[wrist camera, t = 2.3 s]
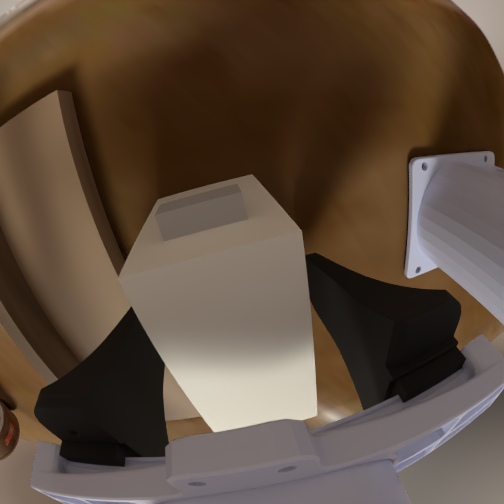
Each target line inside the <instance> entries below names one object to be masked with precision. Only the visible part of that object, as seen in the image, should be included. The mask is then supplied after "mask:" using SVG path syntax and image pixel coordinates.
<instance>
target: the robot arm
mask: <svg viewBox="0 0 504 504" xmlns="http://www.w3.org/2000/svg"><path fill="white" fill-rule="evenodd" d="M494 162H495V157H494V153H493V152H491V151H479V152H465V153H453V154H442V155H433V156H424V157H415V158H412V159H411V161H410V163H409V222H408V239H407V252H406V262H405V271H404V272H405V275H406V276H407V277H408V278H413V277H415V276H418V275H420V274H423V273H425V272H427V271H430V270H432V269H435V268H437V267H439V268H440V269H442V270H443V271H444V272H445V273H446V274H448V275H449V276H450V277H451V278H453V279H454V280H455V281H456V282H457V283H458V284H460V285H461V286H462V287H463V288H464V289H465V290H467V291H468V292H469V293H470V294H471V295H472V296H473V297H474V298H476V299H477V300H478V301H479V302H480V303H481V304H482V305H483V306H484V307H485V308H486V309H488V310H489V311H490V312H491V313H492V314H493V315H494V316H495V317H496V318H497V319H498V320H499V321H500V322H501V323H502V324H503V325H504V169H502V168H500V167H497V166H494ZM422 164H423V168H422ZM305 260H306V269H307V278H308V288H309V298H310V300H311V302H312V305H313V307H314V309H315V311H316V312H317V314H318V316H319V317H320V319H321V320H322V322H323V324H324V325H325V327H326V328H327V330H328V332H329V333H330V335H331V336H332V338H333V340H334V341H335V343H336V345H337V347H338V348H339V350H340V353H341V355H342V357H343V359H344V361H345V364H346V366H347V368H348V371H349V373H350V375H351V378H352V380H353V383H354V385H355V388H356V390H357V393H358V396H359V398H360V401H361V404H362V407H363V410H364V411H361V412H359V413H356V414H354V415H351V416H349V417H346V418H344V419H341V420H338V421H336V422H333V423H330V424H327V425H324V426H321V427H318V428H315V429H312V430H310V427H309V426H308V425H307V424H306V423H305V422H304V421H301V420H294V419H281V420H275V421H268V422H264V423H260V424H256V425H251V426H247V427H242V428H237V429H232V430H226V431H220V432H214V433H208V434H201V435H193V436H187V437H183V438H178V439H174V440H173V441H172V442H170V443H169V442H168V436H167V429H166V421H165V412H164V398H163V383H164V371H165V363H164V361H163V360H162V358H161V356H160V355H159V353H158V352H157V350H156V348H155V347H154V345H153V343H152V342H151V340H150V338H149V337H148V335H147V333H146V331H145V330H144V328H143V326H142V324H141V323H140V321H139V319H138V317H137V315H136V313H135V312H134V310H133V308H132V306H131V307H130V309H129V310H128V311H127V313H126V314H125V315H124V316H123V318H122V319H121V320H120V321H119V323H118V324H117V325H116V327H115V328H114V329H113V330H112V331H111V333H110V334H109V335H108V336H107V337H106V339H105V340H104V341H103V342H102V343H101V344H100V345H99V346H98V347H97V348H96V349H95V350H94V351H93V352H92V353H91V354H90V355H89V356H88V357H87V358H86V359H84V360H83V361H82V362H81V363H80V364H79V365H78V366H76V367H75V368H74V369H72V370H71V371H70V372H68V373H67V374H66V375H64V376H63V377H61V378H60V379H58V380H57V381H55V382H53V383H51V384H50V385H48V386H46V387H44V388H43V389H41V391H40V394H39V397H38V400H37V403H36V406H35V409H34V414H35V416H36V418H37V419H38V420H39V422H40V423H41V424H42V425H43V426H45V427H46V428H47V429H48V430H49V431H51V432H52V433H53V434H54V435H56V436H57V437H58V438H60V439H61V440H62V444H61V446H60V445H57V444H54V443H48V442H42V441H39V442H38V445H37V449H36V454H35V458H34V464H33V469H32V474H31V480H30V486H31V487H32V488H34V489H36V490H38V491H40V492H41V493H43V494H45V495H47V496H49V497H51V498H54V499H56V500H58V501H60V502H62V503H64V504H411V502H410V500H409V498H408V496H407V493H406V492H405V489H404V487H403V485H402V483H401V481H400V479H399V476H398V474H397V472H399V471H400V470H402V469H404V468H406V467H407V466H409V465H411V464H412V463H414V462H416V461H417V460H419V459H421V458H422V457H424V456H425V455H427V454H428V453H430V452H431V451H433V450H434V449H436V448H437V447H439V446H440V445H441V444H443V443H444V442H445V441H447V440H448V439H450V438H451V437H452V436H454V435H455V434H456V433H457V432H459V431H460V430H461V429H463V428H464V427H465V426H466V425H468V424H469V423H470V422H472V421H473V420H474V419H475V418H476V417H477V416H479V415H480V414H481V413H482V412H484V411H485V410H486V409H487V408H488V407H489V406H490V405H491V404H492V402H494V400H495V399H496V398H497V397H498V395H499V394H500V393H501V391H502V390H503V389H504V357H503V356H502V355H501V354H500V353H499V351H497V349H496V348H495V347H494V346H493V345H492V344H491V343H490V342H489V340H488V339H487V338H486V337H485V336H484V335H483V334H481V335H479V336H478V337H477V338H475V339H474V340H472V341H471V342H470V343H468V344H467V345H466V346H464V347H463V349H462V350H461V351H460V350H459V349H458V348H457V347H456V346H457V344H458V341H457V340H456V339H455V338H454V333H455V331H456V328H457V325H458V322H459V320H460V316H461V305H460V303H459V302H458V301H457V300H456V299H455V298H454V297H453V296H452V295H451V294H450V293H449V292H447V291H446V290H432V289H418V288H410V287H403V286H398V285H394V284H389V283H385V282H382V281H379V280H375V279H372V278H369V277H366V276H364V275H361V274H359V273H356V272H354V271H352V270H349V269H347V268H345V267H343V266H341V265H339V264H337V263H335V262H333V261H331V260H329V259H327V258H325V257H323V256H321V255H319V254H317V253H313V254H309V255H305Z"/></svg>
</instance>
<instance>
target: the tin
mask: <svg viewBox="0 0 504 504" xmlns="http://www.w3.org/2000/svg"><path fill="white" fill-rule="evenodd" d="M19 432H20V428H19V423H18V420H17V418H16V416H15V415H14V414H13V413H12V412H11V411H10V410H9V409H8V408H7V407H6V405H5V404H4V403H3V402H2V401H0V460H3V459H5V458H6V457H8V456H9V455H10V454H11V453H12V452H13V450H14V449H15V447H16V445H17V442H18V439H19Z"/></svg>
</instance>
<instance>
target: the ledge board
mask: <svg viewBox="0 0 504 504" xmlns="http://www.w3.org/2000/svg"><path fill="white" fill-rule="evenodd" d="M124 264H125V260H124V258H123V255H122V253H121V251H120V248H119V246H118V244H117V241H116V239H115V236H114V234H113V231H112V229H111V226H110V223H109V221H108V218H107V216H106V213H105V210H104V207H103V205H102V202H101V199H100V196H99V193H98V190H97V187H96V184H95V181H94V178H93V175H92V172H91V168H90V165H89V162H88V158H87V155H86V151H85V148H84V144H83V140H82V136H81V132H80V128H79V124H78V120H77V116H76V111H75V107H74V102H73V97H72V92H68V91H61V90H56V91H54V92H52V93H51V94H49V95H47V96H46V97H44V98H42V99H41V100H39V101H37V102H36V103H34V104H33V105H31V106H30V107H28V108H27V109H25V110H24V111H22V112H21V113H19V114H18V115H16V116H15V117H14V118H12V119H11V120H9V121H8V122H7V123H5V124H4V125H3V126H1V127H0V322H1V324H2V325H3V327H4V328H5V330H6V331H7V333H8V334H9V336H10V337H11V338H12V340H13V341H14V342H15V344H16V345H17V347H18V348H19V349H20V350H21V352H22V353H23V354H24V356H25V357H26V358H27V359H28V361H29V362H30V363H31V364H32V365H33V367H34V368H35V369H36V370H37V371H38V373H39V374H40V375H41V376H42V377H43V378H44V379H45V380H46V382H47V383H48V384H49V385H50V384H51V383H53V382H55V381H57V380H58V379H60V378H61V377H63V376H64V375H66V374H67V373H68V372H70V371H71V370H72V369H74V368H75V367H76V366H78V365H79V364H80V363H81V362H82V361H83V360H84V359H86V358H87V357H88V356H89V355H90V354H91V353H92V352H93V351H94V350H95V349H96V348H97V347H98V346H99V345H100V344H101V343H102V342H103V341H104V340H105V339H106V337H107V336H108V335H109V334H110V333H111V331H112V330H113V329H114V328H115V327H116V325H117V324H118V323H119V321H120V320H121V319H122V318H123V316H124V315H125V314H126V313H127V311H128V310H129V309H130V307H131V304H130V302H129V300H128V298H127V296H126V294H125V292H124V290H123V288H122V286H121V284H120V282H119V280H118V277H119V275H120V272H121V270H122V268H123V266H124ZM163 398H164V412H165V421H168V420H177V419H185V418H193V417H200V416H201V415H200V413H199V412H198V411H197V409H196V408H195V407H194V405H193V404H192V403H191V401H190V400H189V398H188V397H187V396H186V394H185V393H184V391H183V390H182V388H181V387H180V386H179V384H178V383H177V381H176V380H175V378H174V377H173V375H172V374H171V372H170V371H169V369H168V367H167V366H166V364H165V371H164V383H163Z"/></svg>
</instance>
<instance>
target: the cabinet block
mask: <svg viewBox="0 0 504 504" xmlns="http://www.w3.org/2000/svg"><path fill="white" fill-rule="evenodd" d="M118 280H119V282H120V284H121V286H122V288H123V290H124V292H125V294H126V296H127V298H128V300H129V302H130V304H131V306H132V308H133V310H134V312H135V313H136V315H137V317H138V319H139V321H140V323H141V324H142V326H143V328H144V330H145V331H146V333H147V335H148V337H149V338H150V340H151V342H152V343H153V345H154V347H155V348H156V350H157V352H158V353H159V355H160V356H161V358H162V360H163V361H164V363H165V364H166V366H167V367H168V369H169V371H170V372H171V374H172V375H173V377H174V378H175V380H176V381H177V383H178V384H179V386H180V387H181V388H182V390H183V391H184V393H185V394H186V396H187V397H188V398H189V400H190V401H191V403H192V404H193V405H194V407H195V408H196V409H197V411H198V412H199V413H200V415H201V416H202V417H203V419H204V420H205V421H206V423H207V424H208V425H209V426H210V428H211V429H212V430H213V431H214V432H220V431H226V430H232V429H237V428H242V427H247V426H251V425H256V424H260V423H264V422H268V421H275V420H281V419H294V420H305V419H308V418H311V417H314V416H317V397H316V376H315V360H314V345H313V332H312V320H311V308H310V298H309V288H308V278H307V269H306V260H305V252H304V244H303V236H302V230H301V229H300V228H299V227H298V226H297V225H296V223H295V222H294V221H293V220H292V219H291V218H290V216H289V215H288V214H287V213H286V212H285V211H284V209H283V208H282V207H281V206H280V205H279V204H278V203H277V201H276V200H275V199H274V198H273V197H272V196H271V195H270V193H269V192H268V191H267V190H266V189H265V188H264V187H263V186H262V184H261V183H260V182H259V181H258V180H257V179H256V178H255V177H254V176H253V174H251V175H247V176H243V177H239V178H234V179H230V180H226V181H222V182H218V183H214V184H210V185H207V186H203V187H199V188H195V189H192V190H188V191H185V192H181V193H178V194H174V195H171V196H167V197H164V198H160V199H158V200H157V202H156V204H155V205H154V207H153V209H152V211H151V213H150V214H149V216H148V218H147V220H146V222H145V224H144V226H143V228H142V230H141V231H140V233H139V235H138V237H137V239H136V241H135V243H134V245H133V247H132V249H131V251H130V253H129V255H128V257H127V260H126V262H125V264H124V266H123V268H122V270H121V272H120V275H119V277H118Z"/></svg>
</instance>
